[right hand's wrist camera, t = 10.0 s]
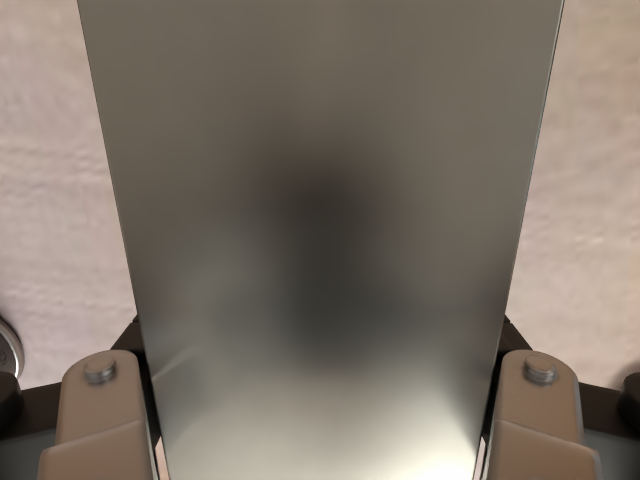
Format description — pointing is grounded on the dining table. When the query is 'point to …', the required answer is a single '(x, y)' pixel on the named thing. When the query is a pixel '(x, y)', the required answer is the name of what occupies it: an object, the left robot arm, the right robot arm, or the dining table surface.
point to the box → (321, 221)
